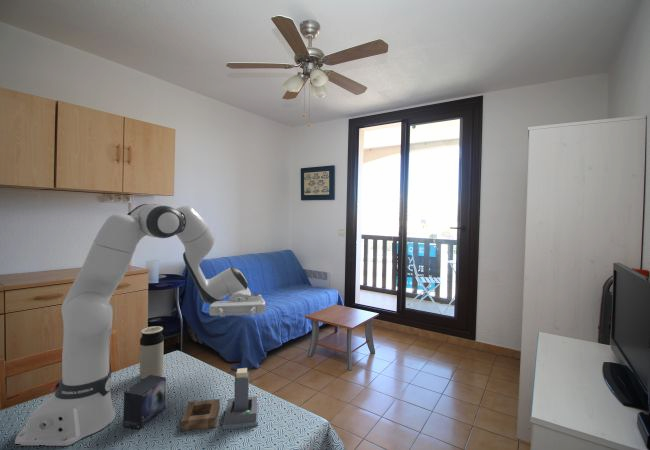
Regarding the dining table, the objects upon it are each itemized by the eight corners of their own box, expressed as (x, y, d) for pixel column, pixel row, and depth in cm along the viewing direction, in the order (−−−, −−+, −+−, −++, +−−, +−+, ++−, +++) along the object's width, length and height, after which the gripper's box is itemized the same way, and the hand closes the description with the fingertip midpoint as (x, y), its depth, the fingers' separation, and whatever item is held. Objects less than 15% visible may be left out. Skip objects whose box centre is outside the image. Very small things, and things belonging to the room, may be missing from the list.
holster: (180, 431, 88) (180, 421, 88) (188, 411, 97) (188, 402, 97) (215, 427, 90) (215, 417, 90) (219, 408, 99) (219, 399, 99)
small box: (140, 430, 88) (141, 394, 88) (121, 427, 90) (122, 391, 90) (166, 408, 99) (167, 376, 99) (149, 405, 100) (149, 374, 100)
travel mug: (167, 373, 121) (167, 328, 120) (147, 382, 114) (147, 334, 114) (156, 368, 125) (156, 324, 125) (135, 376, 118) (135, 330, 118)
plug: (234, 418, 93) (234, 374, 93) (235, 410, 97) (235, 368, 97) (247, 417, 94) (248, 373, 93) (248, 409, 98) (248, 367, 97)
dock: (222, 429, 89) (222, 416, 89) (226, 408, 99) (226, 396, 99) (257, 425, 91) (258, 412, 91) (258, 405, 101) (258, 393, 101)
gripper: (211, 296, 119) (205, 306, 106) (265, 294, 123) (265, 303, 110) (211, 312, 119) (205, 324, 106) (265, 310, 124) (265, 321, 110)
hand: (236, 313), depth 108 cm, fingers open, 8 cm apart
